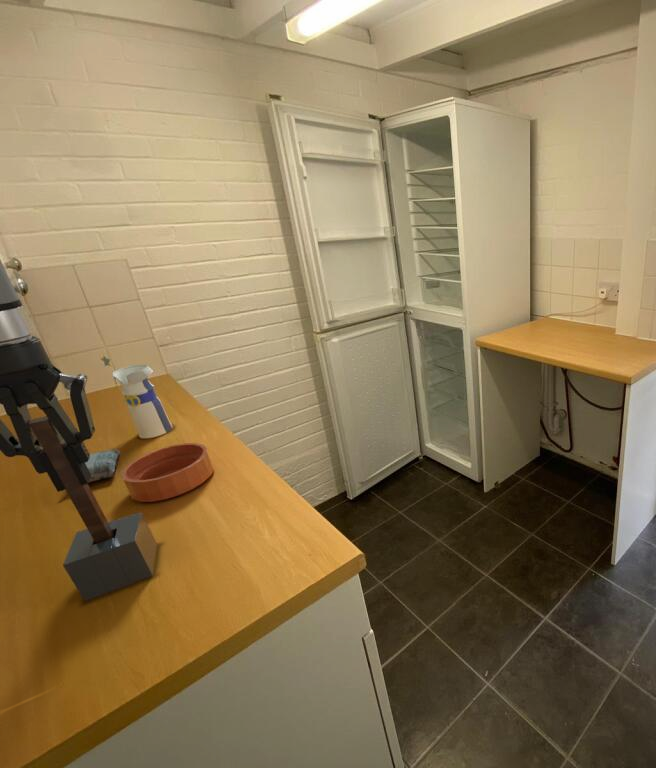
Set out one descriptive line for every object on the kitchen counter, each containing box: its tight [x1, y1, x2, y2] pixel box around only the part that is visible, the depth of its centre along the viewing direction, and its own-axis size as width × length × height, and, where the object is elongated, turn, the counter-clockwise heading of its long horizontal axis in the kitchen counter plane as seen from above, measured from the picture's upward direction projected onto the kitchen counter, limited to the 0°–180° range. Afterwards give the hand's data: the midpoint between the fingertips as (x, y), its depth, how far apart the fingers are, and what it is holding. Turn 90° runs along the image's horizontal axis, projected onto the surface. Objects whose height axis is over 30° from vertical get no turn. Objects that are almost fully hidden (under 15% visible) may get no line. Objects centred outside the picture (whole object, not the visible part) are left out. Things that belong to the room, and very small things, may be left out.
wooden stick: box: [29, 415, 115, 544], centre depth 66 cm, size 2×2×24 cm
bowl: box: [120, 442, 215, 503], centre depth 96 cm, size 16×16×6 cm
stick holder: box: [62, 511, 158, 602], centre depth 72 cm, size 9×9×8 cm
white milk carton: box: [100, 354, 173, 439], centre depth 115 cm, size 8×9×25 cm
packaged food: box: [85, 449, 121, 484], centre depth 100 cm, size 9×12×5 cm
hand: (75, 483), depth 66 cm, fingers closed on wooden stick, 2 cm apart
